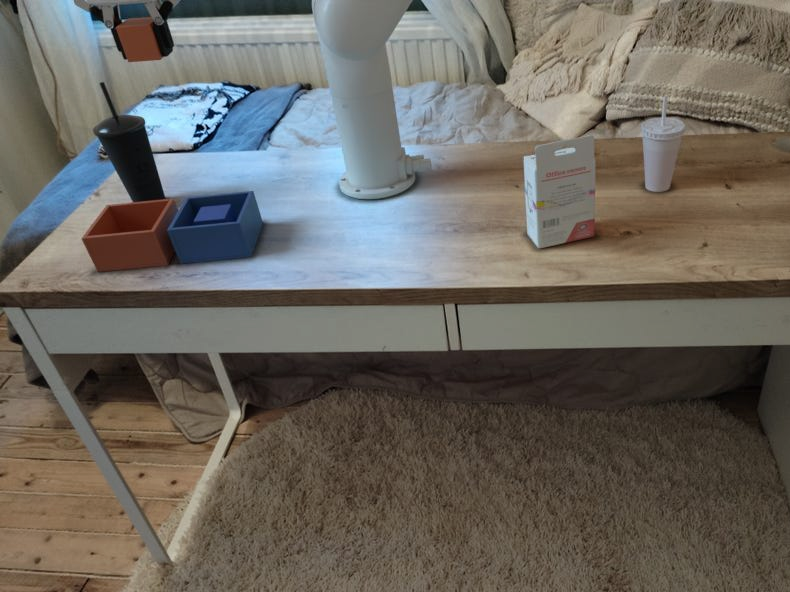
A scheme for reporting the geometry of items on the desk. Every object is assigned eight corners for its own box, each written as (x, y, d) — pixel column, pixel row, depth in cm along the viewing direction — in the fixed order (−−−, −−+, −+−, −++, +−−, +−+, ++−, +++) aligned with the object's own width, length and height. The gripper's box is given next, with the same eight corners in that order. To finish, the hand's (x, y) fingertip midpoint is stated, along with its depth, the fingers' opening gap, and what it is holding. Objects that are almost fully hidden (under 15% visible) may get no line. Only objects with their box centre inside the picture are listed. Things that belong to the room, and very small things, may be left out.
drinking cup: (117, 211, 117) (63, 89, 104) (153, 191, 122) (105, 72, 109) (149, 219, 114) (97, 93, 101) (184, 198, 119) (139, 76, 106)
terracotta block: (170, 50, 100) (159, 16, 97) (160, 60, 96) (149, 24, 94) (139, 52, 100) (127, 18, 97) (128, 62, 96) (115, 27, 94)
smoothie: (634, 195, 107) (641, 103, 99) (637, 176, 112) (644, 87, 103) (678, 196, 106) (688, 103, 97) (679, 178, 111) (689, 87, 102)
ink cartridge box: (581, 221, 102) (583, 121, 93) (595, 237, 99) (598, 135, 89) (525, 233, 101) (521, 133, 92) (537, 250, 97) (534, 147, 88)
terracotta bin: (186, 230, 110) (174, 198, 106) (167, 265, 102) (153, 231, 98) (121, 237, 110) (106, 204, 106) (97, 272, 102) (81, 238, 98)
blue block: (240, 230, 107) (231, 204, 104) (233, 245, 104) (224, 218, 101) (210, 233, 107) (200, 206, 104) (203, 248, 104) (193, 221, 101)
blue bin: (263, 223, 110) (253, 190, 106) (250, 257, 102) (239, 223, 98) (197, 229, 110) (185, 197, 106) (180, 263, 102) (166, 230, 98)
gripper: (13, -92, 84) (77, 68, 95) (155, -102, 83) (202, 59, 95) (41, -99, 89) (98, 52, 101) (173, -109, 89) (216, 43, 101)
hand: (148, 53), depth 98 cm, fingers closed on terracotta block, 4 cm apart
